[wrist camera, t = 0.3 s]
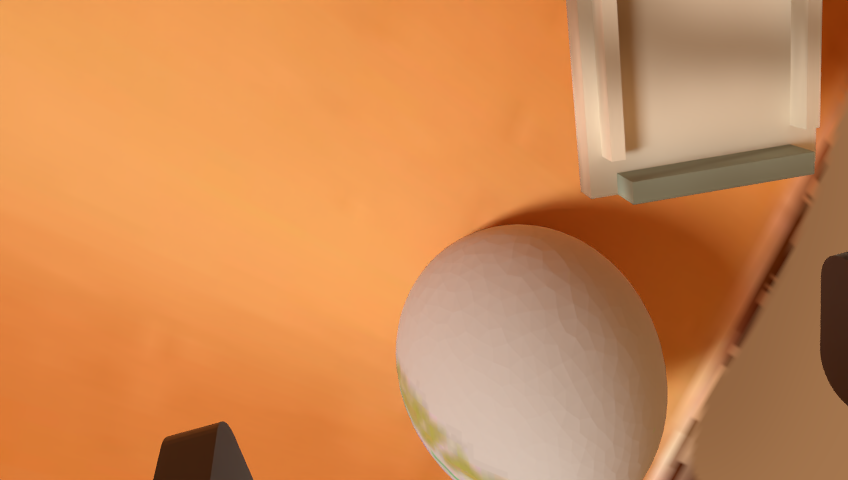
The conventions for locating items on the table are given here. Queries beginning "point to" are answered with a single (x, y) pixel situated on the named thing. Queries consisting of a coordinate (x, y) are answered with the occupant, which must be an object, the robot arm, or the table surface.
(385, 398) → the table surface
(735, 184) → the beam
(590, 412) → the decorative egg
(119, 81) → the table surface
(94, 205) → the table surface
